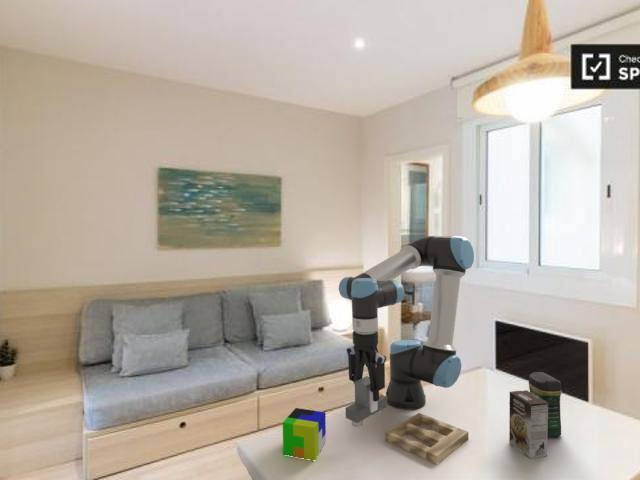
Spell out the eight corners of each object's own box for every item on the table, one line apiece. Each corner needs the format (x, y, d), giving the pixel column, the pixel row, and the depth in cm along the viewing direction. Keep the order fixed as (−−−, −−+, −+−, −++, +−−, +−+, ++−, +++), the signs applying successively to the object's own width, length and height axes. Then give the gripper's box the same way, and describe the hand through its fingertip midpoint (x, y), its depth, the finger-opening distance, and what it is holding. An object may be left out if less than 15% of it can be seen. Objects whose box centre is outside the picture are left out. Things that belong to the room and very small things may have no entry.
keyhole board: (385, 440, 125) (385, 432, 125) (418, 419, 138) (418, 412, 138) (436, 464, 112) (436, 455, 112) (468, 439, 125) (468, 431, 125)
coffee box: (508, 442, 123) (508, 391, 123) (526, 440, 125) (526, 389, 124) (529, 459, 114) (529, 404, 114) (548, 456, 116) (548, 401, 115)
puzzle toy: (325, 443, 124) (325, 412, 123) (314, 461, 114) (314, 427, 114) (296, 438, 127) (295, 407, 127) (283, 455, 118) (282, 422, 117)
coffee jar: (566, 438, 125) (566, 380, 125) (542, 439, 125) (542, 381, 124) (546, 423, 135) (547, 369, 134) (524, 424, 135) (524, 370, 134)
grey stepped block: (345, 424, 116) (344, 385, 115) (376, 407, 125) (375, 372, 125) (357, 430, 112) (356, 390, 112) (387, 412, 122) (386, 375, 122)
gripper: (335, 328, 121) (337, 403, 123) (380, 339, 109) (382, 422, 110) (351, 323, 127) (353, 395, 128) (397, 333, 114) (398, 413, 115)
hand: (367, 407), depth 119 cm, fingers closed on grey stepped block, 4 cm apart
